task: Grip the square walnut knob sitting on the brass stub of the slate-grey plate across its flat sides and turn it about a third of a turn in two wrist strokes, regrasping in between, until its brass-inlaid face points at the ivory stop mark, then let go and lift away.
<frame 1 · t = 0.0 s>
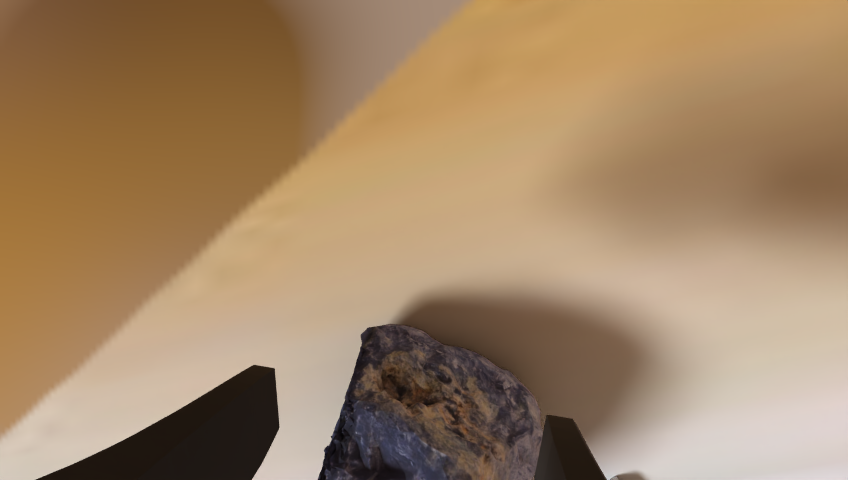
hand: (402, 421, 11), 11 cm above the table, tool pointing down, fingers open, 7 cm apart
rock: (435, 420, 23), on the table
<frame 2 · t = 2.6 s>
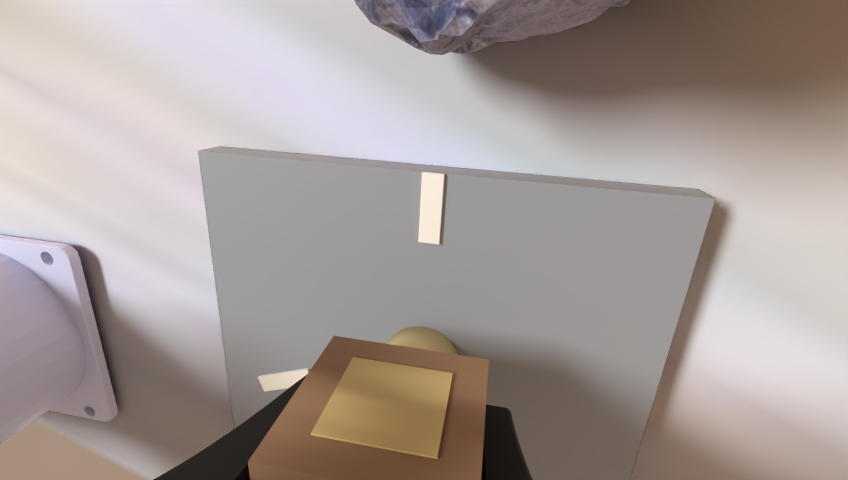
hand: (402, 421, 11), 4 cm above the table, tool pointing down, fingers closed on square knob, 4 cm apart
square knob: (386, 472, 10), point 5 cm above the table, hinge at 0.0°, touching gripper
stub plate: (427, 341, 15), on the table
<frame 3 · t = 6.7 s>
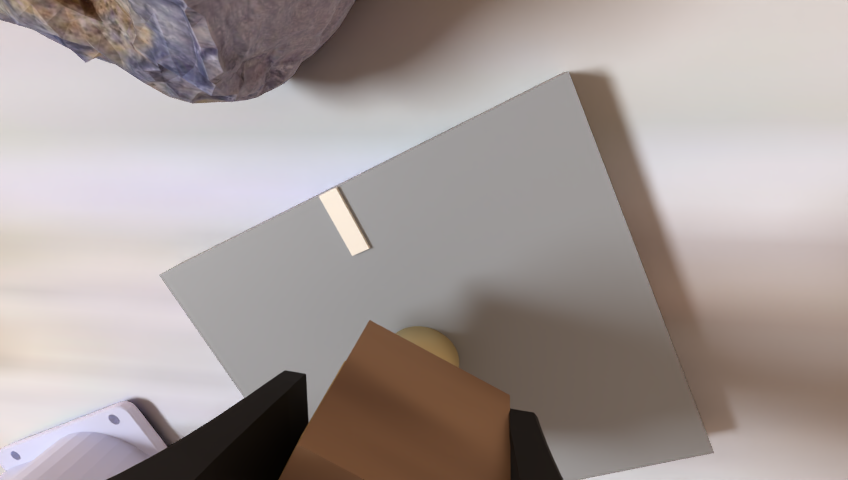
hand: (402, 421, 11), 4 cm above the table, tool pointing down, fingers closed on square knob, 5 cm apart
square knob: (385, 473, 10), point 5 cm above the table, hinge at 36.7°, touching gripper
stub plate: (427, 341, 15), on the table
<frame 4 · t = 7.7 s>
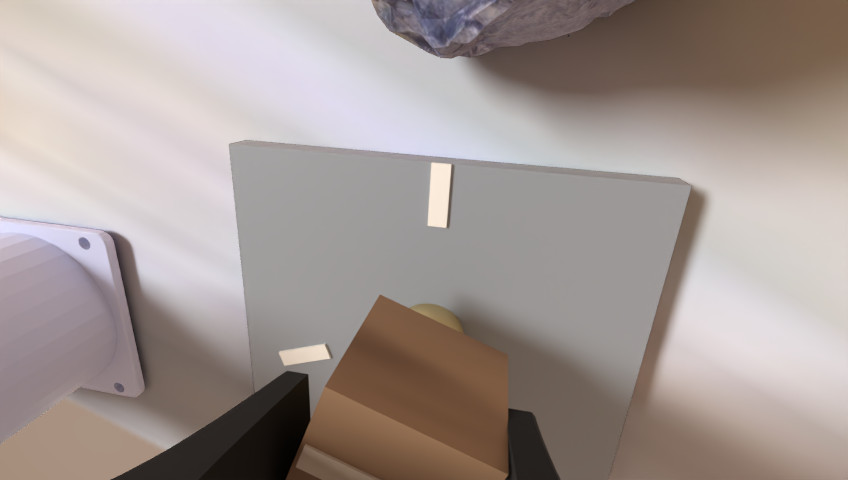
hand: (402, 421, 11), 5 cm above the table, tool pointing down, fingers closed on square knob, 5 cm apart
square knob: (400, 424, 11), point 5 cm above the table, hinge at 70.2°, touching gripper
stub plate: (434, 319, 16), on the table
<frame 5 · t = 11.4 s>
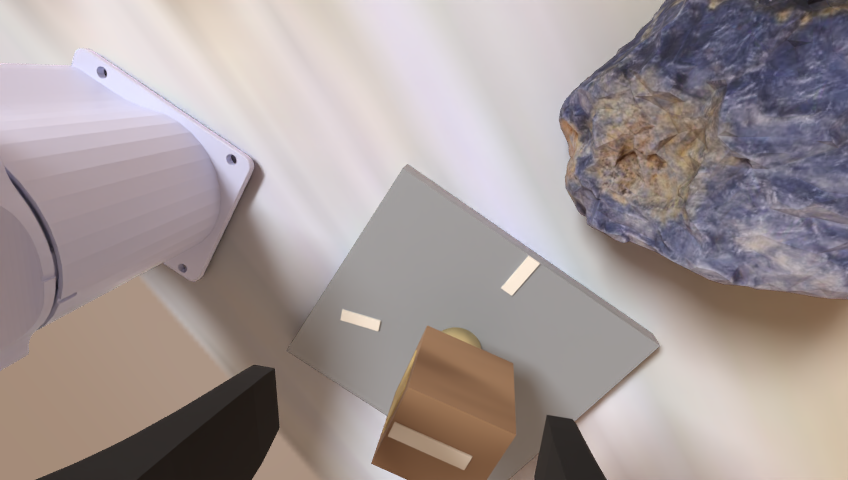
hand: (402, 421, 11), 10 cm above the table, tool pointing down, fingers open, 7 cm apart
square knob: (445, 410, 17), point 5 cm above the table, hinge at 101.5°
rock: (691, 128, 17), on the table
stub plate: (458, 337, 22), on the table
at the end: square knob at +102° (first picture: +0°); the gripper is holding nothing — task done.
